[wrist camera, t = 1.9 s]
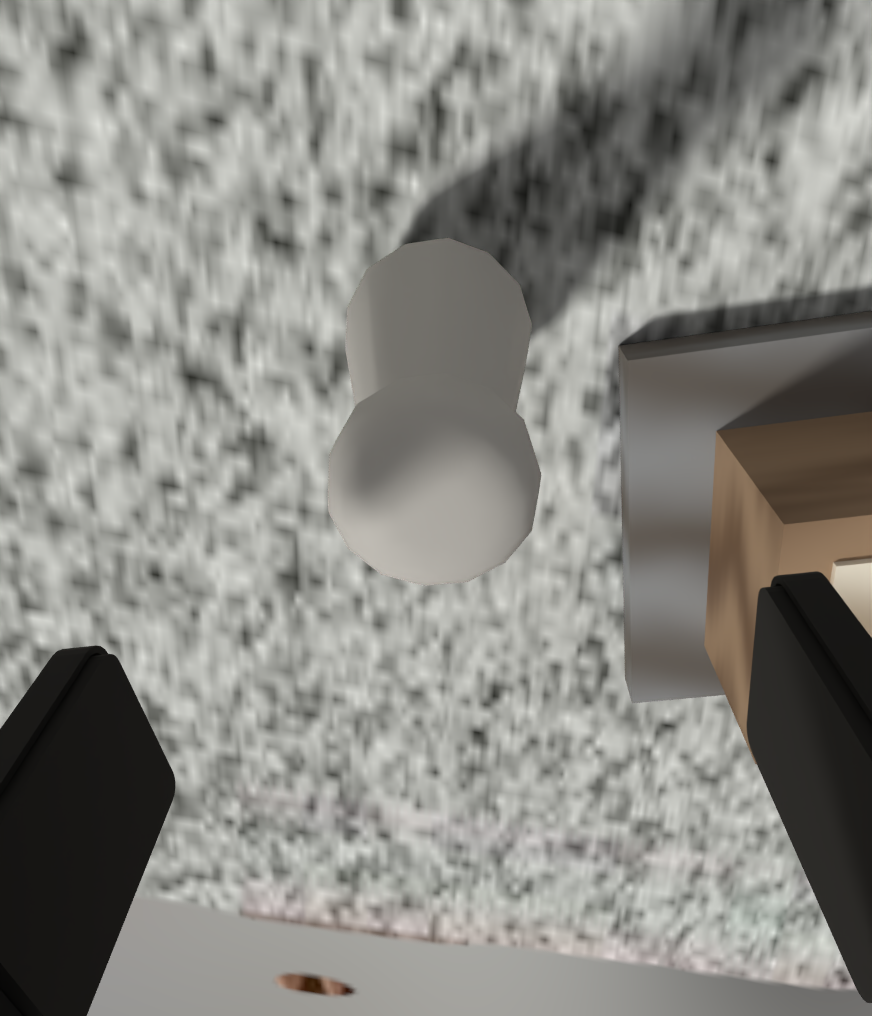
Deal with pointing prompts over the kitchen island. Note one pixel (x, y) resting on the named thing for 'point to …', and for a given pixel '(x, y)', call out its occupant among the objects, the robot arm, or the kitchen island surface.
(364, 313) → the salt shaker
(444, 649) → the kitchen island surface
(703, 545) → the plinth
